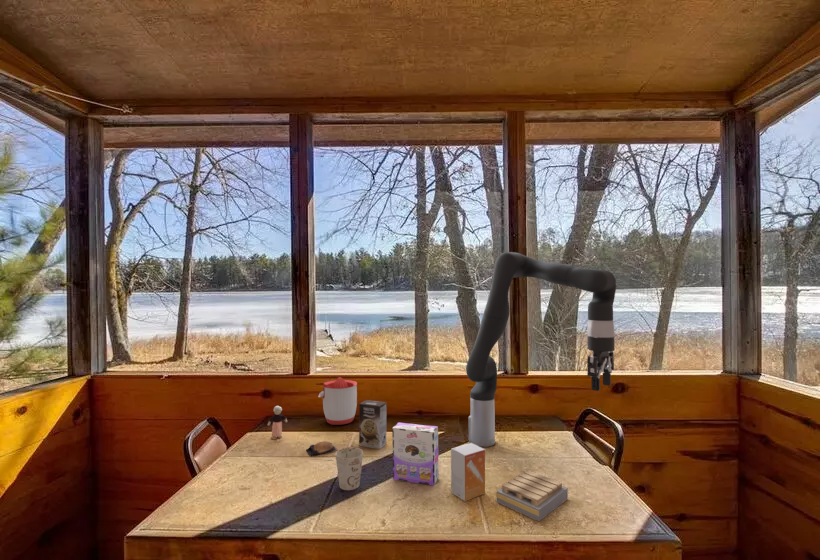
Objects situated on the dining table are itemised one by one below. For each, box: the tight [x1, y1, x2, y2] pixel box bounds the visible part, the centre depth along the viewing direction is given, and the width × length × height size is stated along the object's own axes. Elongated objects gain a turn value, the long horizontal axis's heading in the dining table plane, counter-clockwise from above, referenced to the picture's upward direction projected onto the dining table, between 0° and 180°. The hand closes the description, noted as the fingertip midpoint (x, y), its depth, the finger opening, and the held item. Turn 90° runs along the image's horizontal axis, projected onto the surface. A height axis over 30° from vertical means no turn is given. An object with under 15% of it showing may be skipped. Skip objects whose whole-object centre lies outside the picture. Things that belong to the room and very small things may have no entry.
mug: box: [335, 446, 364, 491], centre depth 124 cm, size 8×13×10 cm, turn 27°
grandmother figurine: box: [267, 405, 288, 440], centre depth 162 cm, size 8×4×13 cm, turn 129°
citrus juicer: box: [318, 376, 358, 426], centre depth 180 cm, size 16×17×20 cm
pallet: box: [501, 469, 563, 506], centre depth 113 cm, size 11×14×2 cm
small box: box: [450, 442, 486, 502], centre depth 117 cm, size 8×6×13 cm
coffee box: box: [358, 399, 388, 450], centre depth 154 cm, size 9×6×16 cm
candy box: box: [391, 422, 440, 486], centre depth 126 cm, size 14×6×16 cm, turn 71°
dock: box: [495, 485, 569, 522], centre depth 113 cm, size 13×16×3 cm
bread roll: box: [305, 440, 339, 458], centre depth 148 cm, size 11×8×4 cm
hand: (601, 387), depth 123 cm, fingers open, 8 cm apart
